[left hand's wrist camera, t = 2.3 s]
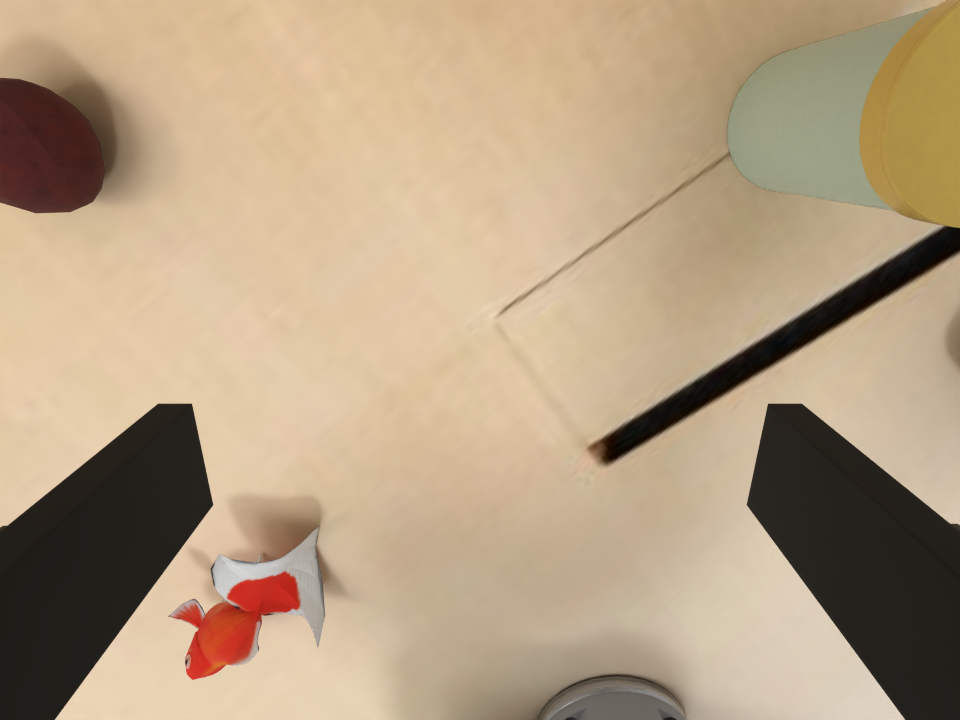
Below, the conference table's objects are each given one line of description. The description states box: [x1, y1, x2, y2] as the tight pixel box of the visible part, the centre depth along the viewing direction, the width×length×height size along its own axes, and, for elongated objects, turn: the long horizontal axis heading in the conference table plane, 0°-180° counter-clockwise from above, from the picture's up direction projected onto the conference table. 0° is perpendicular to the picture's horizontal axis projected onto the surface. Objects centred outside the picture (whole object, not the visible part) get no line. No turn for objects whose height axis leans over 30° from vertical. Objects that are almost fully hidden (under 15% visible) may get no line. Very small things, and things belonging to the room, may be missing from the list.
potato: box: [0, 78, 105, 213], centre depth 33 cm, size 7×8×7 cm
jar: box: [727, 6, 937, 211], centre depth 29 cm, size 9×9×15 cm
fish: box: [168, 526, 325, 680], centre depth 45 cm, size 11×16×10 cm
